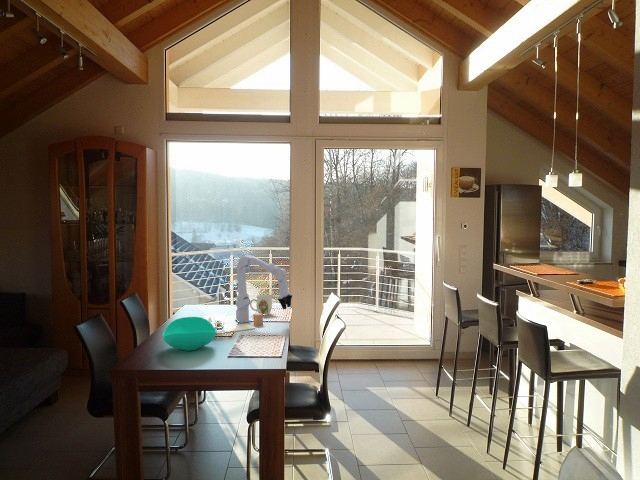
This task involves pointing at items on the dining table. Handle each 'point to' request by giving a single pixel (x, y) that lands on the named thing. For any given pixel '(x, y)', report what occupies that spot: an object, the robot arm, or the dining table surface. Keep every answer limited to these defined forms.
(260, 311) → the pitcher
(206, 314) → the dining table surface
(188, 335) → the table top decor
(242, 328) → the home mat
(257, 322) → the block
